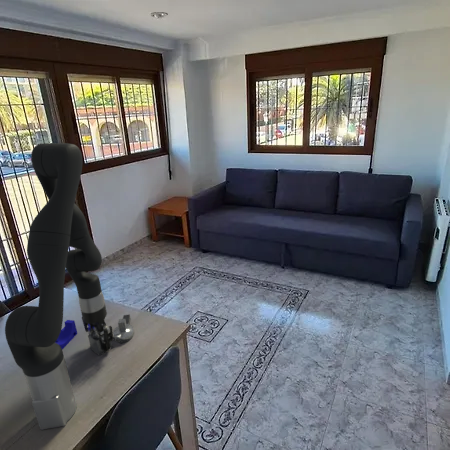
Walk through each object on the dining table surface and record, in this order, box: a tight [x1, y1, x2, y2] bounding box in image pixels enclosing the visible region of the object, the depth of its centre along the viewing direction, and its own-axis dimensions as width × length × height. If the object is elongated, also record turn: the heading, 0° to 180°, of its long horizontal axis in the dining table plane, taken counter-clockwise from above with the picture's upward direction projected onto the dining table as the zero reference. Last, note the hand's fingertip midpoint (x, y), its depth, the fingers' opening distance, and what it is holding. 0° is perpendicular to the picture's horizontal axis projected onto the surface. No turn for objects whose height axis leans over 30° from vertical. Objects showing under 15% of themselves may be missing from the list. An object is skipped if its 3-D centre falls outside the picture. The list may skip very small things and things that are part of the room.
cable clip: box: [55, 319, 78, 351], centre depth 112 cm, size 12×4×6 cm, turn 169°
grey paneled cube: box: [87, 331, 113, 356], centre depth 109 cm, size 5×5×6 cm
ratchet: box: [112, 314, 135, 343], centre depth 117 cm, size 14×7×6 cm, turn 10°
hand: (101, 346), depth 110 cm, fingers open, 6 cm apart
